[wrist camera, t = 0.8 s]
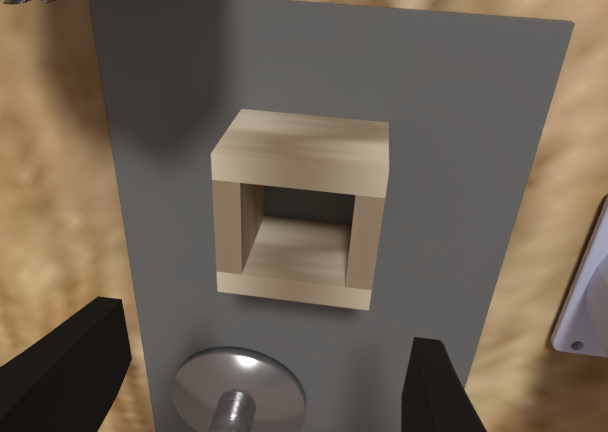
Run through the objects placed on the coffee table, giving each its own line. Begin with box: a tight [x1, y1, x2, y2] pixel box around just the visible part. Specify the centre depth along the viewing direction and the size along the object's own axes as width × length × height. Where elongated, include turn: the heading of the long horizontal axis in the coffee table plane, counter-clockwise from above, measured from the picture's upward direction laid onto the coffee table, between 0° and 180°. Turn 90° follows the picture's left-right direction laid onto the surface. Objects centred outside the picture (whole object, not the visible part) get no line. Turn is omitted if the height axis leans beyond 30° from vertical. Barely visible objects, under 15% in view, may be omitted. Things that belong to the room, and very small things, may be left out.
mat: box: [89, 0, 575, 432], centre depth 24 cm, size 16×26×1 cm, turn 177°
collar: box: [211, 109, 389, 310], centre depth 19 cm, size 5×5×4 cm
